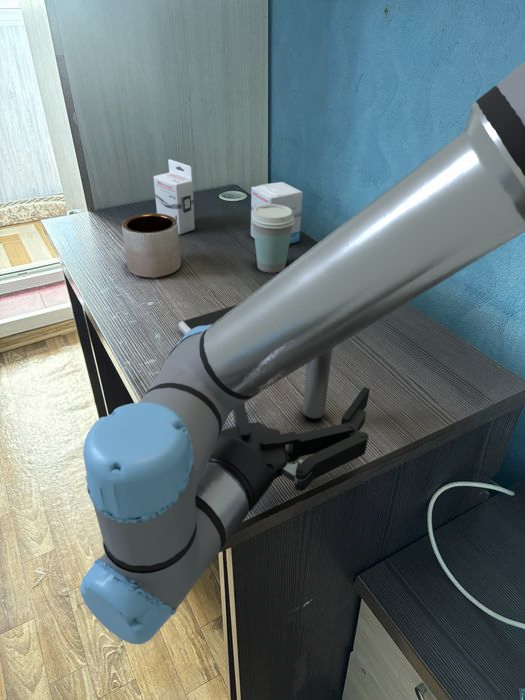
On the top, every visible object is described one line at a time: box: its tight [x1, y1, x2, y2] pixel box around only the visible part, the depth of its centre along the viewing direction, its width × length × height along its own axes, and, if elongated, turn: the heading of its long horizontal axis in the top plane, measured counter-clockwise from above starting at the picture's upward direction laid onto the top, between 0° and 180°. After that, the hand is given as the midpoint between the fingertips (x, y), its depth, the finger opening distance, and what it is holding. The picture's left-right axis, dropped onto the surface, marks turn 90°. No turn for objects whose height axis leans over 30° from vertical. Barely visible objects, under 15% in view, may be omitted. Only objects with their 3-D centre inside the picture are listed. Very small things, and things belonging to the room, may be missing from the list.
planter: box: [121, 212, 182, 279], centre depth 104 cm, size 11×11×10 cm
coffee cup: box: [250, 204, 295, 273], centre depth 105 cm, size 9×9×12 cm
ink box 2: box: [250, 181, 303, 245], centre depth 116 cm, size 8×8×12 cm
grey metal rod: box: [302, 348, 334, 423], centre depth 67 cm, size 3×3×13 cm
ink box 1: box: [153, 158, 196, 235], centre depth 120 cm, size 8×5×15 cm, turn 47°
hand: (316, 377), depth 67 cm, fingers open, 13 cm apart
